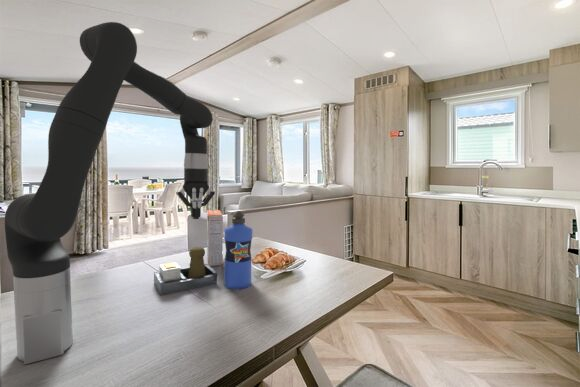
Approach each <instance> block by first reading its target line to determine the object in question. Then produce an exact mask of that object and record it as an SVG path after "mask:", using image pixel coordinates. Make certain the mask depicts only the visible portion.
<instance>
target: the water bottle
mask: <svg viewBox="0 0 580 387" xmlns="http://www.w3.org/2000/svg"><path fill="white" fill-rule="evenodd" d="M232 216H233V217H232V219H231V221H232V222H231V223H232V224H231V225H230V226H228V227H225V228H224V230H223V231H224V233H223V236H224V237H223V238H224V244H225V255H224V256H225V257H224V269H223V270H224V277H223V278H224V282H223V283H224V284H223V285H224V287H225V288H226V289H230V290H243V289H247V288H250V286H251V285H252V252H251V247H252V240H253V228H251V227H250V226H247V225H246V224H245V223H246V218H245V214H244V213H243V212H242V211H239V210H238V211H235V212H234V213H233V214H232Z"/></svg>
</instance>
